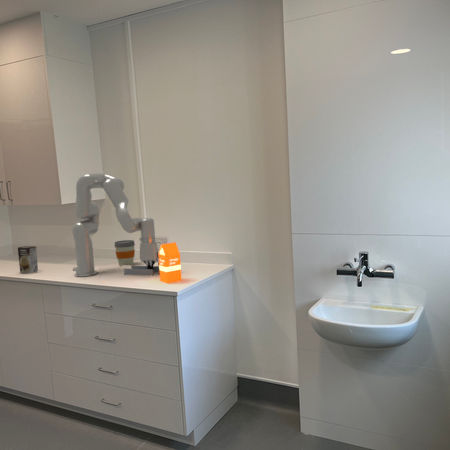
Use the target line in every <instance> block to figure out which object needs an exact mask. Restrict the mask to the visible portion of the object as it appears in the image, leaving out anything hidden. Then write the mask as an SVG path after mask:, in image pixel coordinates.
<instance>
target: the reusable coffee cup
mask: <svg viewBox="0 0 450 450" xmlns="http://www.w3.org/2000/svg"><path fill="white" fill-rule="evenodd" d="M135 245H136V244H135V240H132V239H125V240H124V239H123V240H116V241H115V242H114V248H115V256H116V259H117V262H118V266H119V267H123V266H134V262H135V261H134V257H135V250H136V249H135Z"/></svg>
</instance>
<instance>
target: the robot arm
mask: <svg viewBox="0 0 450 450" xmlns="http://www.w3.org/2000/svg"><path fill="white" fill-rule="evenodd" d="M75 186H76V188H75V189H76V190H75V191H76V193H75V194H76V195H75V196H76V197H75V215H76V217H77V218H79V219H80V221H77V222H75V223H74V224H73V226H72V228H71V230H72V235H73V239H74V245H75V256H76V267H75V266H74V267H73V269H72V271H73V272H75V273H74V275H75V277H79V278H81V277H90V276H95V275H97V274H98V271H97V270H95V259H94V258H95V257H94V248H93V242H92V239H91V236H93V235H95V234H97V232H98V230H99V224H100V209H99V206H98V204H97V203H96V202H95V201H92V197H93V196H92V191H91V190H92V189H103V190H104V191H105V193H106V195H107V197H108V199H109V200H110V202H111V204H112V205H113V206H114V208H115V209H114V210H115V215H116V218H117V221H118V222H119V225H120V226H121V227H122V229H123V231H124V232H126V233H129V234H132V233H136V232H139V231H140V233H141V234H140V236H141V237H140V238H139V241H140V245H139V260H140V262H141V263H144V264H145V266H147V269H153V266H155V264H156V263H158V262H159V248H158V244H157V242H156V232H155V231H156V230H155V220H154V219H153V218H152V217H151V218H150V217H147V218H145V217H144V218H143V217H142V218H141V217H134V218H132V217H131V215H130V214H129V211H128V203H129V199H128V196H126V194H125V192H124V191H123V190H125V183H124V181H123V180H122V179H121V178H119V177H116V176H111V175H109V174H105V173H100V172H99V173H98V172H97V173H96V172H95V173H85V174H83V175H82V176H81V175H80V177H79V178H78V179H77V181H76V184H75ZM81 219H83V220H81ZM153 270H154V269H153Z"/></svg>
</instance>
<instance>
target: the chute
mask: <svg viewBox="0 0 450 450" xmlns="http://www.w3.org/2000/svg"><path fill="white" fill-rule="evenodd" d="M130 266H131V267H130V268H123V275H126V276H127V275H128V276H131V275H132V276H154V273H159V269H158V265H153V269H154V270H153V269H147V266H146V265H130Z"/></svg>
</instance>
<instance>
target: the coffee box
mask: <svg viewBox="0 0 450 450" xmlns="http://www.w3.org/2000/svg"><path fill="white" fill-rule="evenodd" d="M37 251H38V250H37V245H36V246H35V245H33V246H31V245H30V246H29V245H28V246H27V245H25V246H20V247H17V255H18V264H19V265H18V266H19V273H20V274H29V273H32V274H34V273H33V272H35V273H38V272H39V264H38V263H39V262H38V253H37ZM37 271H38V272H37Z"/></svg>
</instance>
